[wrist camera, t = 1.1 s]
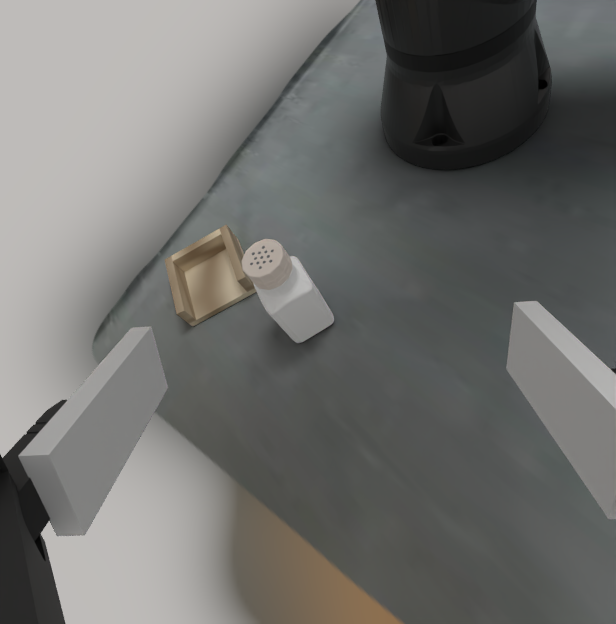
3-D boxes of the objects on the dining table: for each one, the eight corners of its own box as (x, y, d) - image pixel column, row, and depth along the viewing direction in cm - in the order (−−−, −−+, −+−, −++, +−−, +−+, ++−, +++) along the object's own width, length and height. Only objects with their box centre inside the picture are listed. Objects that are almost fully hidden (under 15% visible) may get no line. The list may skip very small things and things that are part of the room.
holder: (238, 240, 45) (226, 224, 43) (257, 291, 41) (245, 276, 39) (179, 273, 46) (164, 259, 44) (192, 326, 42) (176, 314, 40)
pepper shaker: (298, 348, 37) (246, 293, 29) (280, 313, 39) (228, 253, 31) (338, 323, 37) (297, 261, 29) (318, 290, 39) (276, 224, 31)
